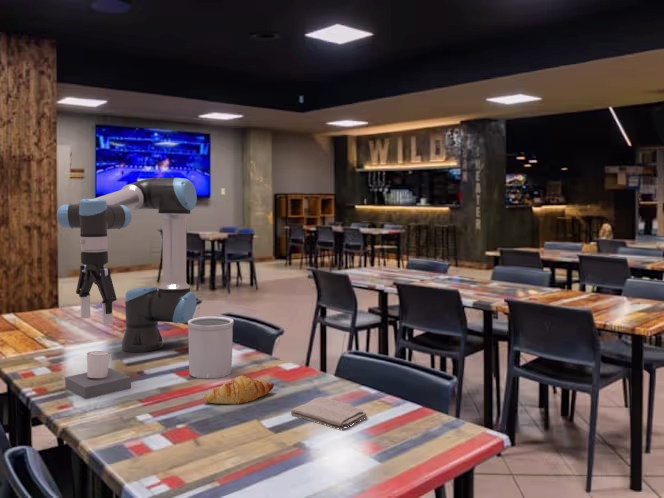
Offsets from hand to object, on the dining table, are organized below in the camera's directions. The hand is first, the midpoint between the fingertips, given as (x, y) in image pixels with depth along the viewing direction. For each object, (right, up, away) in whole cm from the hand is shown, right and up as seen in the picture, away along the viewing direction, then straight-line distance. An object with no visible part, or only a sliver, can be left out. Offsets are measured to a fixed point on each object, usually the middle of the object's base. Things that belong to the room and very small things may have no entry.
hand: (96, 321), depth 181 cm
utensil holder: (+31, -19, +18) cm, 41 cm away
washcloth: (+70, -24, -20) cm, 77 cm away
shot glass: (0, -17, +2) cm, 17 cm away
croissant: (+44, -22, -6) cm, 49 cm away
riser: (0, -21, +2) cm, 21 cm away
